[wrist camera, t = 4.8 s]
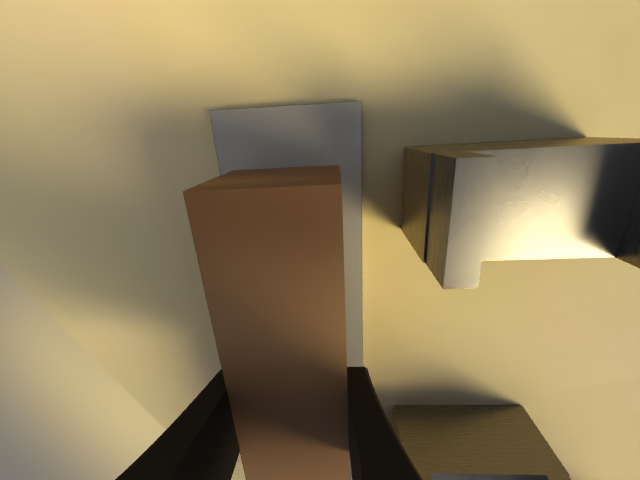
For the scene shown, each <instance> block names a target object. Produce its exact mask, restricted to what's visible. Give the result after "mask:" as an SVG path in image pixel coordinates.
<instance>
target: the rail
mask: <svg viewBox="0 0 640 480" xmlns="http://www.w3.org/2000/svg"><path fill="white" fill-rule="evenodd" d="M183 194H184V198H185V203H186V207H187V212H188V217H189V221H190V226H191V230H192V235H193V239H194V244H195V249H196V253H197V258H198V262H199V267H200V271H201V276H202V281H203V285H204V290H205V294H206V299H207V303H208V308H209V313H210V317H211V322H212V326H213V331H214V335H215V340H216V345H217V349H218V354H219V358H220V363H221V367H222V372H223V377H224V381H225V386H226V389H227V393H228V398H229V402H230V407H231V412H232V416H233V421H234V425H235V430H236V434H237V439H238V443H239V448H240V454H241V459H242V463H243V468H244V473H245V477H246V480H350V457H349V431H348V394H347V389H348V386H347V350H346V314H345V278H344V242H343V206H342V181H341V174H340V167H339V165H329V166H309V167H289V168H269V169H249V170H233V171H231V172H228V173H226V174H223V175H221V176H219V177H216V178H214V179H212V180H209V181H207V182H204V183H202V184H200V185H197V186H195V187H193V188H190V189H188V190H186V191H183Z"/></svg>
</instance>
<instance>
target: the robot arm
mask: <svg viewBox="0 0 640 480" xmlns="http://www.w3.org/2000/svg"><path fill="white" fill-rule="evenodd" d="M347 386H348V389H347V394H348V431H349V455H350V463H351V471H352V479H353V480H422V478H421V476H420V475H419V473H418V472H417V470H416V468H415V467H414V465H413V463H412V462H411V460H410V458H409V457H408V455H407V453H406V451H405V450H404V448H403V446H402V444H401V443H400V441H399V439H398V437H397V435H396V434H395V432H394V430H393V428H392V426H391V424H390V422H389V420H388V418H387V416H386V414H385V412H384V410H383V408H382V406H381V404H380V401H379V399H378V397H377V395H376V392H375V390H374V387H373V385H372V382H371V379H370V376H369V373H368V369H366V368H365V367H347ZM239 452H240V448H239V443H238V439H237V434H236V430H235V425H234V421H233V416H232V412H231V407H230V402H229V398H228V393H227V389H226V386H225V381H224V377H223V372H222V369H221V370H220V371H219V372H218V373H217V374H216V376H215V377H214V378H213V379H212V380H211V381H210V382H209V384H208V385H207V386H206V387H205V388H204V389H203V390H202V392H201V393H200V394H199V395H198V396H197V397H196V398H195V399H194V401H193V402H192V403H191V404H190V405H189V406H188V407H187V408H186V409H185V410H184V412H183V413H182V414H181V415H180V416H179V417H178V418H177V419H176V420H175V421H174V422H173V423H172V425H171V426H170V427H169V428H168V429H167V430H166V431H165V432H164V433H163V434H162V435H161V436H160V437H159V438H158V439H157V440H156V441H155V442H154V443H153V444H152V445H151V446H150V447H149V448H148V449H147V450H146V451H145V452H144V453H143V454H142V455H141V456H140V457H139V458H138V459H137V460H136V461H135V462H134V463H133V464H132V465H131V466H129V468H128V469H126V470H125V471H124V472H123V473H122V474H121V475H120V476H119V477H118V478H117V479H115V480H231V477H232V474H233V471H234V468H235V465H236V462H237V459H238V455H239Z"/></svg>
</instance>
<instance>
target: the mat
mask: <svg viewBox="0 0 640 480" xmlns="http://www.w3.org/2000/svg"><path fill="white" fill-rule="evenodd" d="M210 116H211V122H212V128H213V134H214V140H215V146H216V152H217V158H218V164H219V170H220V176H221V175H223V174H226V173H228V172H231V171H233V170H249V169H269V168H289V167H309V166H329V165H339V167H340V174H341V181H342V206H343V242H344V278H345V314H346V350H347V367H363V322H362V124H361V101H355V102H339V103H323V104H308V105H292V106H276V107H260V108H244V109H228V110H213V111H210ZM349 457H350V455H349ZM350 474H352V471H351V463H350Z"/></svg>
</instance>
